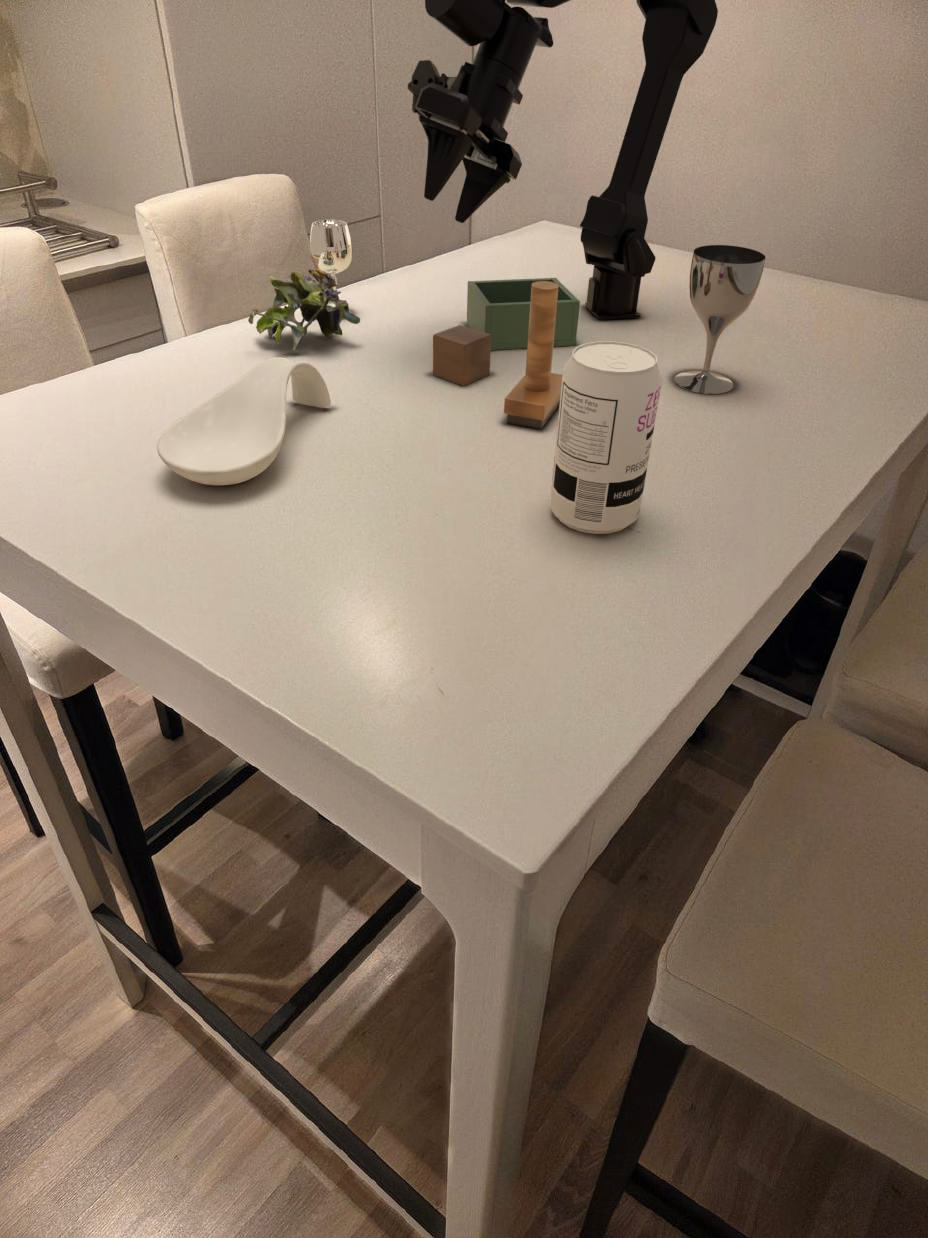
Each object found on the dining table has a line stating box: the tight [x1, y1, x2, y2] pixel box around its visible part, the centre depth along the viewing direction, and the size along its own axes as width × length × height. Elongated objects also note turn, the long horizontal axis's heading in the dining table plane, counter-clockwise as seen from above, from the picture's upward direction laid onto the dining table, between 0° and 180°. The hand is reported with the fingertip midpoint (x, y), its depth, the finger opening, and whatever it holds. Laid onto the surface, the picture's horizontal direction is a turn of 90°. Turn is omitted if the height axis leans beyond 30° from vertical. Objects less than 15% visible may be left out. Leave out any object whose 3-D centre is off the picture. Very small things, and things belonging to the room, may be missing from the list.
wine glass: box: [674, 244, 766, 395], centre depth 101 cm, size 8×8×15 cm
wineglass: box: [309, 219, 353, 313], centre depth 119 cm, size 6×6×12 cm
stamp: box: [503, 281, 563, 430], centre depth 94 cm, size 5×9×14 cm, turn 159°
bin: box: [466, 277, 581, 351], centre depth 116 cm, size 13×11×6 cm
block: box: [432, 324, 492, 387], centre depth 105 cm, size 5×5×5 cm
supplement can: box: [549, 340, 663, 535], centre depth 75 cm, size 8×8×15 cm
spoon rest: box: [156, 356, 332, 486], centre depth 87 cm, size 24×12×7 cm, turn 160°
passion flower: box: [247, 268, 361, 356], centre depth 111 cm, size 11×11×12 cm
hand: (444, 210), depth 101 cm, fingers open, 9 cm apart
